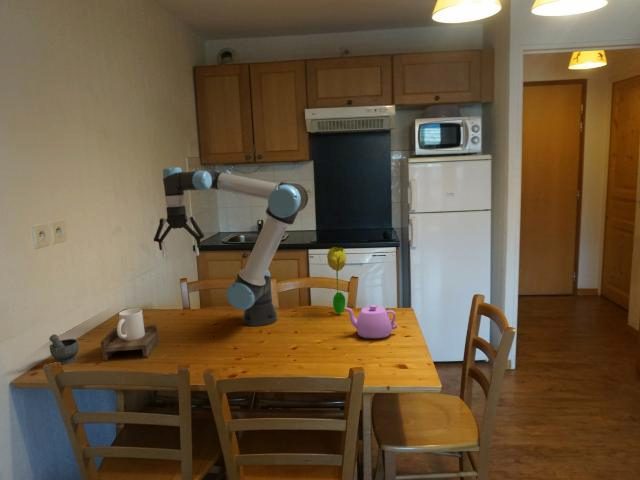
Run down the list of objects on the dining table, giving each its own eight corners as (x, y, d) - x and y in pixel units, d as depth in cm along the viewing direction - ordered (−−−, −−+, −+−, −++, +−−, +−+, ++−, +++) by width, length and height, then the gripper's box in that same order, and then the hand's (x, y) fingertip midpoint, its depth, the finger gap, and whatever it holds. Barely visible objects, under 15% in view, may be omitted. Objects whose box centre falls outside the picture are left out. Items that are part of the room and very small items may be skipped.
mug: (128, 346, 176) (124, 319, 175) (110, 344, 179) (106, 317, 177) (149, 334, 187) (146, 308, 186) (132, 333, 190) (129, 308, 188)
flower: (329, 312, 217) (325, 247, 212) (347, 311, 218) (343, 245, 213) (331, 318, 208) (327, 250, 204) (350, 317, 209) (346, 249, 204)
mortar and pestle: (62, 356, 184) (58, 326, 182) (86, 355, 183) (81, 325, 181) (43, 368, 173) (38, 336, 171) (68, 368, 172) (63, 336, 170)
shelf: (158, 342, 192) (156, 324, 191) (147, 357, 177) (144, 338, 176) (118, 345, 191) (115, 327, 190) (103, 361, 177) (100, 341, 175)
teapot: (396, 328, 192) (395, 299, 190) (398, 340, 179) (397, 310, 177) (346, 329, 194) (344, 301, 193) (344, 341, 181) (343, 311, 179)
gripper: (208, 203, 201) (212, 252, 205) (147, 206, 200) (153, 256, 204) (204, 204, 194) (209, 256, 197) (141, 208, 193) (148, 260, 196)
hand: (181, 256), depth 201 cm, fingers open, 13 cm apart
